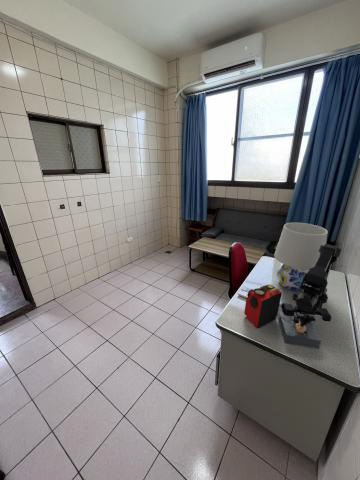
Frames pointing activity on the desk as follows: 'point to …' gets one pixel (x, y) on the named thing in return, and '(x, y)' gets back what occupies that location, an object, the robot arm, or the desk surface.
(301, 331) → the knob
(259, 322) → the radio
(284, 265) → the table lamp
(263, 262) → the desk surface
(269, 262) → the desk surface
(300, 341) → the panel
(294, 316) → the black and brass dome
